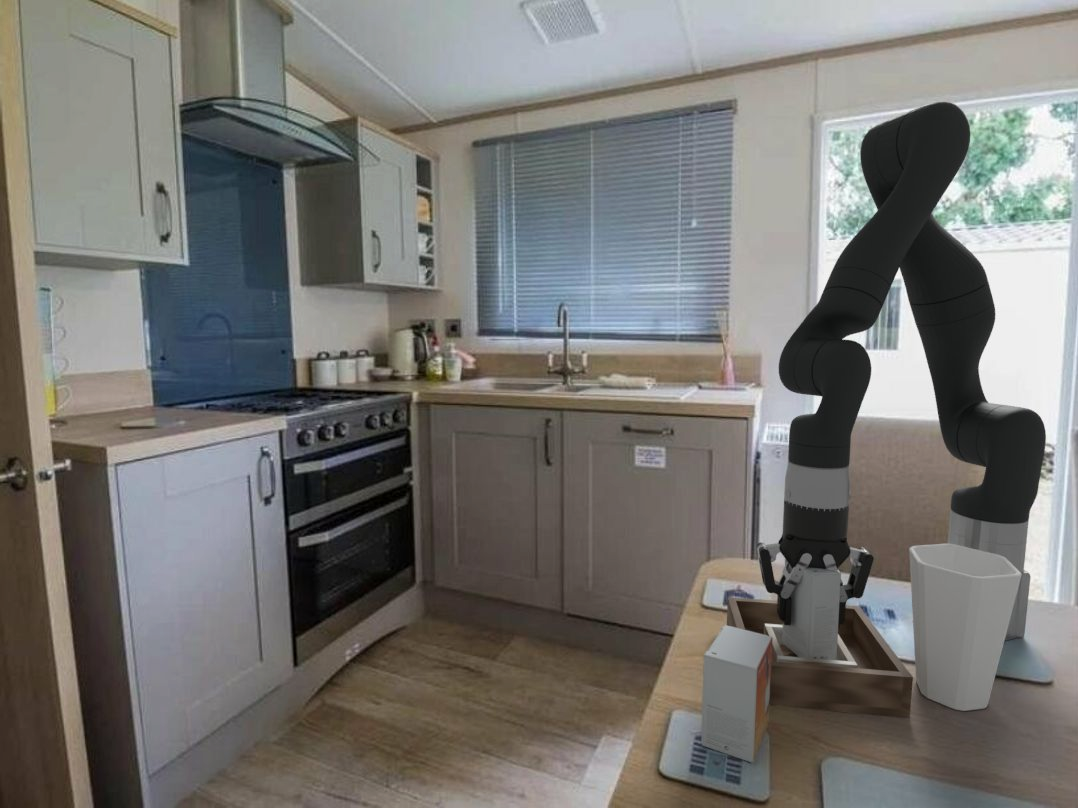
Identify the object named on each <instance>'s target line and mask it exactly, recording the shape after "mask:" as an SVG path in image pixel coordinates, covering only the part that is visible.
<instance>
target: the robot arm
mask: <svg viewBox="0 0 1078 808" xmlns="http://www.w3.org/2000/svg"><path fill="white" fill-rule="evenodd" d="M970 129H971V127H970V123H969V119H968V118H967V115H966V114H965V112H964V110H962V108H960V106H958V105H957V104H956V103H953V102H951V101H945V100H944V101H943V100H942V101H936V102H931V103H927V104H924V105H923V106H922V105H921V106H919V107H916V108H914V109H912V110H909V111H906V112H904V113H902V114H900V115H896V116H895V117H892V118H890V119H887V120H885V121H883V122H880V123H878V124H876V125H875V126H872V128H870V129H869V130H867V132H866V134H865V135H864V137H863V139H862V142H861V146H860V154H859V155H860V165H861V170H862V174H863V177H864V180H865V183H866V186H867V189H868V191H869V193H870V195H871V199H872V200H873V202H874V205H875V207H876V209H877V211H876V212H875V213H874V214H873V216H871V218H869V220H868V221H867V222H866V223H865V224H864V226H863V227H862V228H861V229H860V230H859V231H858V232H857V233H856V235H854V237H853V238H852V239H851V240H850V241H849V243H847V245H846V246H845V248H844V249H843V250H842V252H841V253H840V255H839V256H838V258H837V260H836V262H835V263H834V266H833V268H832V270H831V273H830V275H829V276H828V278H827V281H826V284H825V286H824V289H823V291H822V293H821V295H820V297H819V301H818V302H817V303H816V305H815V306H814V307H813V308H812V309H811V310H810V312H809V313H808V314H807V315H806V317H804V319H803V320H802V322H801V323H800V324H799V325H798V326H797V328H796V329H795V331H794V332H793V333H792V334H791V336H790V337H789V338H788V340H787V341H786V343H785V344H784V347H783V349H782V351H781V353H780V357H779V362H778V375H779V380H780V381H781V383H782V385H783V386H784V387H785V389H787V390H788V391H790V392H793V393H796V394H799V395H805V396H806V395H809V396H816V397H821V401H820V403H819V405H818V408H817V410H816V412H815V413H807V414H800V415H797V416H796V417H794V418H793V419H792V420H791V422H790V426H789V432H788V433H789V435H788V436H789V437H788V451H787V452H788V455H787V466H786V472H785V476H784V477H785V478H784V493H783V496H784V498H783V513H782V514H783V516H782V518H783V519H782V521H783V522H782V534H781V537H780V539H779V540H778V542H777V543H769V544H765V543H764V542H758V543H757V544H756V551H757V559H758V563H759V568H760V573H761V580H762V583H763V585H764V587H765V589H766V592H768V593H769V594H775V595H777V597H776V598H777V600H776V601H777V614H778V616H779V618H780V620H782V621H783V623H784V625H791V608H792V599H791V597H790V595H791V593H792V591H793V589H794V587H795V586H796V585H797V584H798V583H799V581H800V579H801V577H802V575H803V572H804V570H805V569H806V568H822V569H826V570H827V571H832V570H833V571H834V572H838V570H839V568H840V567H841V566H842V565H843V563H844V562H845V561H846V560H847V559H848V558H849V557H850V559H849V561H850V563H851V564H852V565H851V566H852V567H851V570H850V573H849V576H848V579H847V583H846V584H843V579H842V577H841V578H840V599H839V619H838V629H839V628H840V624H842V625H843V623H844V622H845V610H846V605H847V601H848V600H850V599H854V598H855V599H861V598H863V596H864V592H865V590H866V585H867V584H868V583H867V582H868V579H869V577H870V573H871V569H872V567H873V563H874V556H873V555H872V554H871V553H870V551H869V550H868V549H867V548H866V547H863V546H861V547H859V548H856V547H852V546H850V545H849V543H848V530H849V529H848V528H849V514H850V513H849V512H850V500H851V499H852V497H851V495H852V494H851V493H852V492H851V477H850V476H851V473H850V462H851V461H850V459H851V443H852V442H851V439H852V438H851V437H852V432H853V428H854V426H855V423H856V421H857V418H858V416H859V413H860V410H861V407H862V404H863V401H864V398H865V397H866V393H867V391H868V389H869V385H870V381H871V379H872V378H871V376H872V363H871V359H870V356H869V354H868V351H867V349H866V348H865V347H864V346H863V345H862V344H861V343H859V342H857V341H855V340H851V339H845V338H846V337H848V336H851V335H854V334H859V333H862V332H866V331H867V330H869V329H871V328H872V327H873V326H874V325H875V324H876V322H877V320H878V318H879V316H880V313H881V311H882V309H883V306H884V304H885V301H886V300H887V297H888V294H889V293H890V289H892V288H891V287H892V286H893V283H894V280H895V278H896V275H897V273H898V271H900V274H901V277H902V279H903V283H904V286H905V290H906V291H905V292H906V295H907V299H908V302H909V303H908V304H909V306H910V310H911V313H912V316H913V319H914V323H915V326H916V328H917V331H918V334H919V337H920V340H921V343H922V347H923V350H924V354H925V358H926V363H927V365H928V369H929V373H930V377H931V382H932V386H933V392H934V398H935V403H936V404H935V405H936V409H937V416H938V422H939V423H938V424H939V427H940V428H939V429H940V433H941V437H942V440H943V443H944V445H945V448H946V450H948V452H949V454H950V455H952V457H954V458H955V459H957V460H959V461H961V462H964V463H967V464H970V465H971V464H972V465H974V466H979V467H985V470H984V474H983V475H984V476H983V479H982V482H981V484H979V485H976V486H966V487H959V488H956V489H955V490H953V492H952V494H951V498H950V499H951V500H950V513H949V521H948V523H949V524H948V537H947V544H955V545H959V546H963V547H967V548H972V549H976V550H980V551H984V552H989V553H993V554H997V555H1000V556H1003V557H1005V558H1006V559H1007V560H1008V561H1009V562H1010V563H1011V564H1012V565H1013V566H1014V567H1015V568H1016V569H1017V570H1018V571H1019V572H1020V573H1021V574H1022V575H1021V579H1020V583H1019V587H1018V591H1017V594H1016V598H1015V602H1014V606H1013V610H1012V614H1011V617H1010V621H1009V625H1008V629H1007V633H1006V637H1005V640H1004V641H1008V640H1012V639H1015V638H1025V633H1026V623H1027V616H1028V615H1027V614H1028V604H1029V603H1028V602H1029V595H1030V587H1031V586H1030V584H1031V573H1030V572H1028V571H1026V570H1025V560H1026V552H1027V551H1026V549H1027V542H1028V541H1027V540H1028V539H1027V538H1028V529H1029V519H1030V513H1031V509H1032V507H1033V506H1034V503H1035V500H1036V499H1037V497H1038V492H1039V486H1040V480H1041V474H1042V473H1041V472H1042V468H1043V462H1044V459H1045V458H1044V457H1045V450H1046V442H1047V441H1046V440H1047V435H1046V428H1045V424H1044V421H1043V419H1042V417H1041V416H1040V415H1039V414H1038V412H1035V410H1032V409H1029V408H1025V407H1021V406H1014V405H1006V404H998V403H992V402H989V401H988V400H987V398H986V396H985V393H984V390H983V386H982V384H981V377H980V373H979V372H980V370H979V368H980V366H979V365H980V360H981V358H982V356H983V353H984V351H985V348H986V346H987V344H988V342H989V339H990V337H991V336H992V333H993V329H994V327H995V322H996V307H995V301H994V299H993V298H994V297H993V294H992V291H991V287H990V284H989V280H988V277H987V273H986V270H985V268H984V266H983V265H982V263H981V262H980V261H979V259H978V258H977V257H976V256H975V255H974V254H973V253H972V252H971V251H970V250H969V249H968V248H967V247H966V246H965V245H964V244H962V243H961V242H960V241H959V240H958V239H957V238H956V237H955V236H953V235H952V234H951V233H950V232H949V231H947V230H946V229H945V227H943V225H941V223H940V222H939V221H938V220H937V219H936V218H935V216H934V215H933V211H934V210H935V208H936V207H937V205H938V203H939V201H940V200H941V199H942V197H943V195H944V194H945V192H946V191H947V190H948V188H949V186H950V185H951V183H952V182H953V180H954V178H955V177H956V175H957V174H958V172H959V170H960V169H961V167H962V165H963V163H964V161H965V160H966V157H967V154H968V152H969V149H970V144H971V130H970ZM779 553H781V555H782V556H783V558H784V560H785V559H786V560H787V563H786V565H785V564H784V567H783V569H782V574H781V575H780V578H779V580H778V581H777V580H775V576H774V569H773V565H772V564H773V563H774V562H775V561H776V560H777V555H778V554H779ZM789 564H790V566H791V567H792V569H793V570H792V572H791V571H790V570H789Z"/></svg>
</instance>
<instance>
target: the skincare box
mask: <svg viewBox="0 0 1078 808" xmlns="http://www.w3.org/2000/svg"><path fill="white" fill-rule="evenodd" d="M786 563H787V560H786V559H785V558H784V566H785V565H786ZM789 570H790V571H791V572H792V570H793V569H792V567H791V566H790V564H789ZM840 578H841V579H842V574H841V572H834V571H833V570H832V571H827V570H826V569H822V568H806V569H805V570H804V572H803V575H802V577H801V579H800V581H799V583H798V584H797V585H796V586H795V587H794V589H793V591H792V593H791V595H790V597H791V599H792V608H791V625H784V623H783V634H782V643H783V644H784V645H785V646H787V647H788V648H789V649H790V650H791V651H792V652H794V653H795V654H796V655H797V656H798V657H802V658H814V659H827V660H837V640H838V619H839V599H840Z"/></svg>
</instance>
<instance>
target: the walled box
mask: <svg viewBox="0 0 1078 808" xmlns="http://www.w3.org/2000/svg"><path fill="white" fill-rule="evenodd" d="M726 606H727V609H726V610H727V611H726V613H727V615H726V625H727V626H732V627H736V628H739V629H743V630H747V631H751V632H755V633H759V634H763V635H767V636H771V637H772V638H773V640H772V660H771V677H770V699H769V706H775V707H788V708H797V709H806V710H807V709H808V710H818V711H827V712H828V711H829V712H832V711H833V712H840V713H841V712H842V713H848V714H849V713H850V714H851V713H852V714H861V715H872V716H882V717H891V718H893V717H895V718H903V719H910V718H911V709H912V708H911V707H912V705H911V704H912V694H913V682H914V681H913V680H914V677H913V675H912V674H911V673H910V672H909V669H908V668H907V667H906V666H905V665H904V663H903V662H902V661H901V660H900V658H899V657H898V656H897V654H896V653H895V651H894V650H893V649H892V648H891V646H890V645H889V644H888V642H887V641H886V640H885V638H884V637H883V636H882V634H881V633H880V632H879V630H878V629H877V628H876V626H875V624H873V622H872V621H871V620H870V618H869V617H868V616H867V614H866V613H865V611H863V608H861V606H860V605H850V604H849V605H847V604H846V610H845V622H844V623H843V625H842V624H840V628H839V629H838V640H837V660H827V659H814V658H802V657H798V656H797V655H796V654H795V653H794V652H792V651H791V650H790V649H789V648H788V647H787V646H785V645H784V644H783V643H782V634H783V621H782V620H780V618H779V616H778V614H777V600H774V599H773V600H772V599H759V598H745V597H744V598H743V597H731V596H728V597H727V605H726Z"/></svg>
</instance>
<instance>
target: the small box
mask: <svg viewBox="0 0 1078 808" xmlns="http://www.w3.org/2000/svg"><path fill="white" fill-rule="evenodd" d="M772 640H773V638H772V637H771V636H767V635H763V634H759V633H755V632H751V631H747V630H743V629H739V628H736V627H732V626H727V624H724V625H722V628H721V629H720V631H719V632H718V634H717V636H716V637H715V639H714V641H713V642H712V643H711V645H710V646H709V648H708V649H707V650H706V651H705V652H704V654H703V663H702V664H703V666H702V667H703V668H702V669H703V671H702V699H701V701H702V703H701V704H702V705H701V738H700V739H701V741H700V742H701V743H700V744H701V746H703V747H705V748H707V749H712V750H714V751H717V752H720V753H722V754H726V755H729V756H731V757H734V758H737V759H740V760H743V761H746V762H749V763H751V764H752V763H755V759H756V756H757V753H758V750H759V747H760V745H761V743H762V740H763V737H764V736H765V732H766V730H767V728H768V725H769V717H770V716H769V715H770V705H769V699H770V677H771V660H772Z"/></svg>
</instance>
